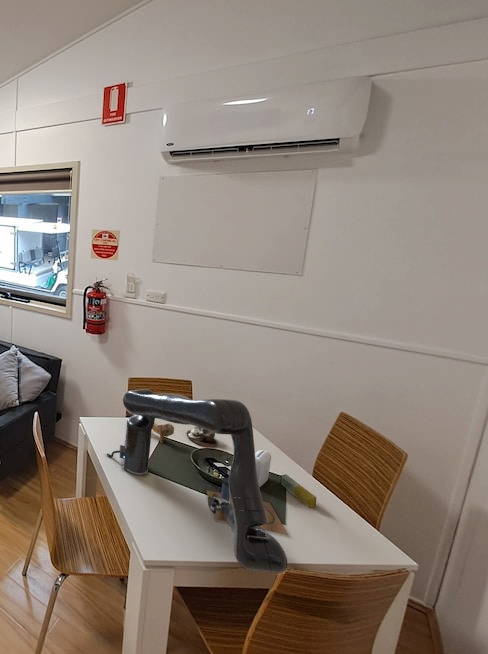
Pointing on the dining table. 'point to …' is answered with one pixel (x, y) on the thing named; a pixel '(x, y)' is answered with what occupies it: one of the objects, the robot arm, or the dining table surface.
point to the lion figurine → (163, 430)
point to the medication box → (298, 491)
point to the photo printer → (262, 466)
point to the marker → (225, 490)
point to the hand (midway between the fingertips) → (230, 498)
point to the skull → (202, 436)
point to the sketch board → (271, 527)
